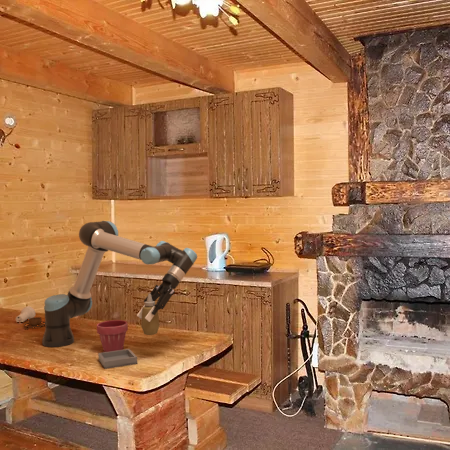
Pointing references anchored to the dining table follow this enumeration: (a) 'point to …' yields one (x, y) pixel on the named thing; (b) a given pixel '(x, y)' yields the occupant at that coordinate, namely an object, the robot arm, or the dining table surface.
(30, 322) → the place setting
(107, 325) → the plant pot
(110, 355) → the tray
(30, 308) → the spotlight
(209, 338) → the dining table surface
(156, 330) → the squeeze bottle
